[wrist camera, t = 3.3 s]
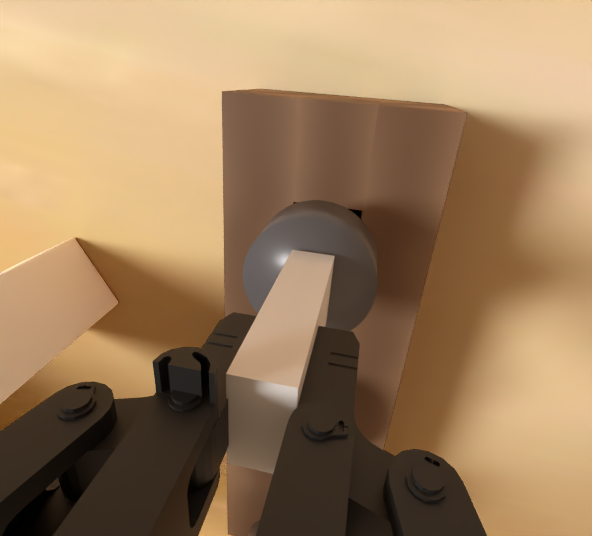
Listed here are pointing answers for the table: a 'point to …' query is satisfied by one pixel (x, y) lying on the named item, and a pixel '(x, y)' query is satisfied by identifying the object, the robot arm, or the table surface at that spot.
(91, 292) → the milk
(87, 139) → the table surface
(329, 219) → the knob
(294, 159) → the mount
